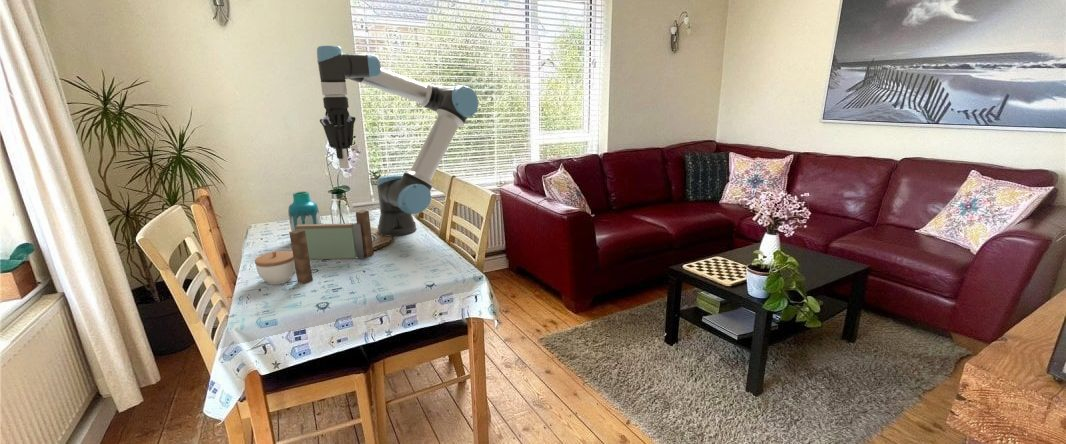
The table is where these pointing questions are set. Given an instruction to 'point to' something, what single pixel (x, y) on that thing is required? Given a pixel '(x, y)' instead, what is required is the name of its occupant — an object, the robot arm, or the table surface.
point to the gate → (333, 240)
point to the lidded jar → (276, 266)
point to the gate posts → (302, 249)
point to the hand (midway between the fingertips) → (344, 167)
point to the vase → (303, 210)
